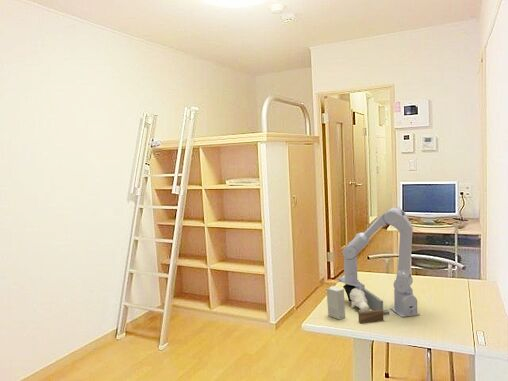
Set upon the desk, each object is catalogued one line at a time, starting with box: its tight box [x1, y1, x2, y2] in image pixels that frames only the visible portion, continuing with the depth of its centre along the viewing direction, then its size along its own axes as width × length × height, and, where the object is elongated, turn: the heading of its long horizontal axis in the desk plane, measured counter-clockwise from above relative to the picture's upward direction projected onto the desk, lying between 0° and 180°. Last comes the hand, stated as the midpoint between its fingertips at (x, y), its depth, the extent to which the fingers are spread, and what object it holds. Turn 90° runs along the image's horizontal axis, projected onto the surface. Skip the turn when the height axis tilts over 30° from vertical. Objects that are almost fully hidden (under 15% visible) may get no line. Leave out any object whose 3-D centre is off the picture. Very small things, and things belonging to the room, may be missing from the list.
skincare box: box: [326, 285, 346, 320], centre depth 165 cm, size 6×4×12 cm
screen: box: [363, 288, 390, 316], centre depth 176 cm, size 22×4×6 cm, turn 11°
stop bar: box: [358, 309, 384, 324], centre depth 160 cm, size 2×10×4 cm, turn 101°
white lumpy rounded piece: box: [350, 288, 370, 312], centre depth 171 cm, size 6×8×12 cm
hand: (351, 300), depth 179 cm, fingers closed
